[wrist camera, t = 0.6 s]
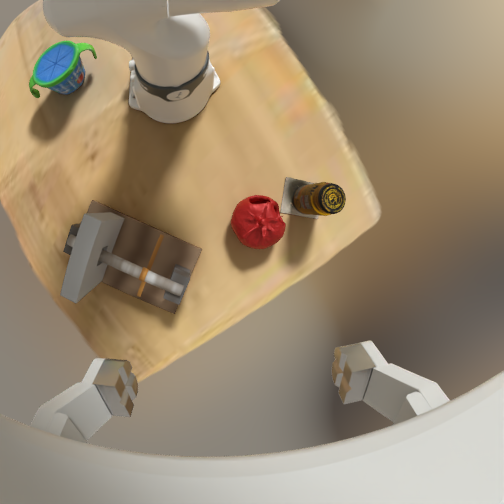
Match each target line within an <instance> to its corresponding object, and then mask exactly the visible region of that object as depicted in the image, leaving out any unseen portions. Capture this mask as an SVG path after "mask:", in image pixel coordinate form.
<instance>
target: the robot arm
mask: <svg viewBox="0 0 504 504" xmlns="http://www.w3.org/2000/svg"><path fill="white" fill-rule="evenodd" d="M279 1H280V0H43V12H44V16H45V19H46V21H47V23H48V24H49V26H50V27H51V28H52V29H53V30H54V31H56V32H57V33H59V34H60V35H62V36H65V37H91V38H97V39H102V40H105V41H109V42H111V43H114V44H116V45H118V46H121V47H122V48H124V49H126V50H127V51H128V52H130V54H131V56H132V58H133V60H131V61H129V69H130V71H131V76H130V92H129V105H130V107H131V108H133V109H136V110H140V111H143V112H144V113H146V114H147V115H148V116H149V117H151V118H152V119H154V120H156V121H159V122H163V123H179V122H183V121H186V120H188V119H190V118H192V117H194V116H195V115H197V114H198V113H199V112H200V111H201V110H202V109H203V108H204V107H205V105H206V103H207V102H208V99H209V97H210V95H211V94H212V93H213V92H214V91H215V90H216V89H217V88H218V87H219V86H220V79H219V77H218V75H217V74H216V72H215V69H214V67H213V66H212V64H211V63H210V61H209V53H208V45H209V39H210V29H209V26H208V24H207V22H206V20H205V19H204V18H203V17H202V16H201V15H200V14H199V13H212V12H232V11H239V10H246V9H253V8H260V7H267V6H272V5H275V4H276V3H278V2H279ZM134 96H135V99H134ZM334 357H335V359H336V360H335V361H334V362H333V364H332V378H333V381H334V384H335V385H336V386H338V387H339V392H338V393H339V395H340V397H341V400H342V402H343V404H347V403H351V402H356V401H360V400H363V401H364V402H365V403H367V404H368V405H369V406H371V407H372V408H374V409H375V410H377V411H378V412H380V413H381V414H383V415H384V416H385V417H387V418H388V419H390V420H391V421H393V422H394V423H393V425H392V426H389V427H386V428H383V429H380V430H377V431H374V432H370V433H367V434H364V435H360V436H357V437H353V438H349V439H345V440H341V441H337V442H333V443H329V444H324V445H319V446H314V447H309V448H304V449H298V450H291V451H284V452H276V453H268V454H258V455H245V456H226V457H225V456H224V457H191V456H170V455H157V454H147V453H139V452H132V451H125V450H119V449H113V448H107V447H102V446H97V445H93V444H88V443H87V440H88V439H89V438H90V437H91V436H92V435H93V434H94V433H95V432H96V431H97V430H98V429H100V428H101V427H102V425H104V424H105V423H106V422H107V421H108V419H110V418H111V417H112V415H115V416H125V417H131V413H132V410H133V406H134V404H133V402H132V400H133V399H135V398H136V396H137V393H138V383H137V379H136V376H135V375H134V374H133V373H131V369H132V366H131V364H130V362H129V361H127V360H117V359H104V358H95V359H94V360H93V361H92V363H91V365H90V367H89V369H88V371H87V372H86V374H85V376H84V379H83V380H82V382H81V383H76V384H75V385H73V386H72V387H70V388H69V389H67V390H65V391H64V392H62V393H61V394H59V395H57V396H56V397H54V398H53V399H51V400H49V401H48V402H46V403H45V404H43V405H42V406H40V407H39V409H38V411H37V413H36V414H35V416H34V418H33V420H32V422H31V424H30V426H28V425H26V424H23V423H21V422H18V421H16V420H13V419H11V418H8V417H6V416H4V415H1V414H0V504H504V371H502V372H500V373H499V374H497V375H496V376H494V377H492V378H491V379H489V380H488V381H486V382H484V383H483V384H481V385H480V386H478V387H476V388H474V389H473V390H470V391H469V392H467V393H465V394H463V395H461V396H459V397H457V398H455V399H453V400H451V401H450V400H449V399H448V398H447V396H446V395H445V393H444V392H443V391H442V390H441V388H440V387H439V386H438V385H437V383H435V382H433V381H430V380H428V379H426V378H423V377H421V376H418V375H416V374H414V373H412V372H410V371H407V370H405V369H403V368H400V367H398V366H396V365H394V364H392V363H391V364H388V363H387V362H386V360H385V359H384V358H383V356H382V355H381V353H380V352H379V350H378V349H377V348H376V346H375V345H374V344H373V342H372V341H366V342H361V343H358V344H352V345H348V346H342V347H336V349H335V351H334Z"/></svg>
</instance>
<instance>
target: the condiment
mask: <svg viewBox="0 0 504 504" xmlns="http://www.w3.org/2000/svg"><path fill="white" fill-rule="evenodd" d="M345 200H346V198H345V193H344V191H343V189H342V188H341V187H339V186H338V185H336V184H332V183H326V182H321V183H316V184H314V183H310V182H306V181H302V180H297V179H293V178H288V177H286V181H285V186H284V192H283V199H282V206H281V213H287V214H293V215H298V216H304V217H309V218H315V219H318V216H319V215H323V216H327V215H331V214H335V213H338V212H340V211H341V210H342V209H343V207H344V205H345ZM291 203H292V204H293V206H292V204H291Z"/></svg>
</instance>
